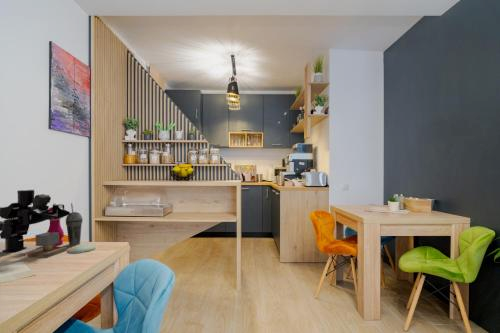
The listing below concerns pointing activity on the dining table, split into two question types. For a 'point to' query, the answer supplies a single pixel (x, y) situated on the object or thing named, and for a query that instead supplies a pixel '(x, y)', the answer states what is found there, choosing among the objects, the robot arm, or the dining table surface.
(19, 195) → the robot arm
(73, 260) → the dining table surface
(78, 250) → the mat
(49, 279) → the dining table surface
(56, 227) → the pepper mill
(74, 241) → the beverage cup
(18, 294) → the dining table surface
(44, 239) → the gray square block
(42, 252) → the post block
